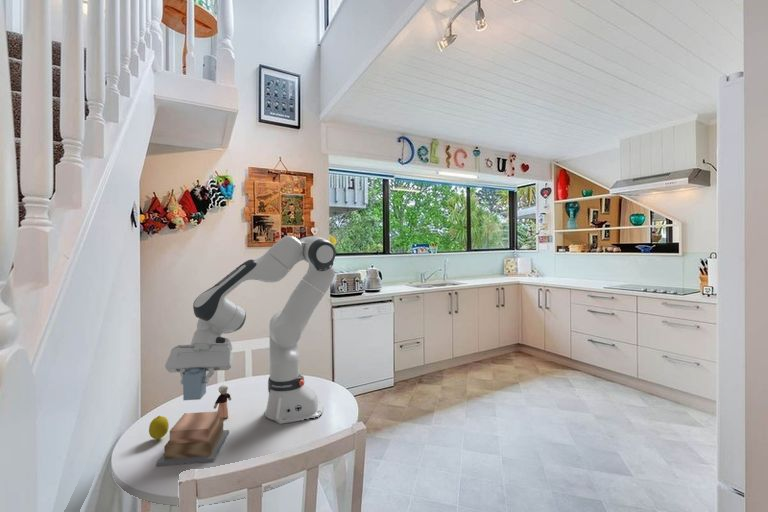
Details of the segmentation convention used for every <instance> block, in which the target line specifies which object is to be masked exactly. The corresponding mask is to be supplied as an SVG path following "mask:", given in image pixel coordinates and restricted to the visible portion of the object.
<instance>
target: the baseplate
mask: <svg viewBox="0 0 768 512" xmlns="http://www.w3.org/2000/svg"><path fill="white" fill-rule="evenodd" d="M229 434H230V430H229V429H223V434H222V436H221V438H220V440H219V441H218V443H217V445H216V447H215V449H214V450H213V452H212V454H211V456H200V457H187V458H174V459H164V453H162V455H161V457H160V458H159V459H158V460H157V462H156V467H163V466H164V467H165V466H174V465H175V466H177V465H185V464H184V463H190V464H200V463H214V462H215V461H216V459H217V457H218V455H219V454H220V451H221V449H222V447H223V446H224V443H225V441H226V440H227V438H228V436H229Z"/></svg>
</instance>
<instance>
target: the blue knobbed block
mask: <svg viewBox="0 0 768 512" xmlns="http://www.w3.org/2000/svg"><path fill="white" fill-rule="evenodd" d="M206 375H207V371H206V369H199V368H194V369H191V370H189V371H188V372H186V373H185V374H184V375H183V385H182V387H183V389H182V392H183V396H182V397H183V401H197V400H201V399H202V398H203V397H204V396H205V394H207V383H202V379H203V376H206Z"/></svg>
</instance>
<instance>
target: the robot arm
mask: <svg viewBox="0 0 768 512" xmlns="http://www.w3.org/2000/svg"><path fill="white" fill-rule="evenodd" d="M336 253H337V252H336V247H335V246H334V244H333V243H332V242H331V241H330V240H328V239H326V238H323V237H321V236H314V235H304V236H302V237H299V238H297V237H296V236H293V235H285V236H283V237H282V238H280V239H279V240H277V241H276V242H275V243H274V244H273V245H272V246H271V247H270V248H269V249H268V250H267V251H266V252H265V253H264V254H263V255H261V256H260V257H258V258H255V259H247V260H245V261H244V262H242V263H241V264H239V265H238V266H237V267H235V269H233V270H232V271H231V272H229V273H228V274H227V275H225V276H224V277H223V278H222V279H221V280H219V281H218V282H217V283H215V284H214V285H213V286H212V287H209V288H208V289H207V290H205V291H204V292H201V294H199V295H198V296H197V297H196V298H195V299H194V301H193V305H192V309H193V315H195V318H198V320H197V323H196V330H195V331H194V333H193V336H192V339H191V342H190V344H179V345H177V346H174V347H172V348H171V350H170V353H169V356H168V358H167V360H166V362H165V364H164V368H165V370H166V371H167V372H168V373H180V374H179V375H180V378H181V380H180V384H181V385H182V386H183V375H184V374H185V373H186V372H188V371H189V370H191V369H194V368H199V369H206V372H207V373H206V376H203V379H202V383H206V384H208V383H209V382H210V379H211V378H212V377H213V375H214V374H215V371H229V370H231V369H232V367H233V362H234V360H233V359H234V354H233V344H232V342H231V340H230V339H229V338H227V337H223V336H222V335H223V334H225V335H227V334H231V333H234V332H238V331H239V330H241V329H242V328H243V326H244V324H245V322H246V319H247V312H246V310H245V309H244V308H243V307H241V306H239V305H238V304H237V303H234V302H233V301H231V299H228V298H227V296H228V295H229V294H230V293H231V292H233V290H235V289H236V288H237V287H239V286H240V285H241V284H242V283H243V282H244V283H245V282H246V281H250V280H251V281H259V282H264V283H269V284H270V283H271V284H272V283H277V282H280V281H282V279H284V278H285V277H286V276H287V275H288V274H289V272H290V271H292V269H293V268H294V267H295V265H296V264H298V263H299V262H301V261H305V262H306V263H308V269H307V271H306V273H305V275H303V277H302V278H301V280H300V281H299V282H298V284H297V285H296V287H295V289H294V290H293V291H292V292H291V294H290V295H289V298H288V300H287V301H286V303H285V306H283V307H284V308H283V309H282V310H281V311H278V312H276V313H274V314H273V315H272V316H271V318H270V320H269V326H268V327H269V377H268V380H267V391H268V399H267V402H266V403H267V405H266V409H265V411H264V415H265V417H266V418H267V419H269V420H271V421H275V422H276V423H277V424H281V425H282V424H288V423H293V422H300V420H301V421H305V420H304V419H307V420H310V419H309V418H314V419H316V418H315V417H318V418H320V417H321V416H322V415H321V413H322V411H323V412H324V403H323V402H322V401H321V400H320V399H318V395H317V393H316V391H315V389H314V388H311V387H310V386H308V385H307V384H306V383H305V377H304V374H302V375H301V374H300V363H299V362H300V353H299V341H300V339H301V336H302V334H303V332H304V330H305V328H306V327H307V325H308V323H309V321H310V319H311V317H312V315H313V313H314V312H315V309H316V308H317V307H318V306H319V305H318V304H319V303H320V302H321V300H322V299H323V298H324V296H325V295H326V294H327V292H328V290H329V288H330V287H331V284H332V282H333V280H334V278H335V275H336V271H335V268H334V267H333V266H334V261H335V258H336ZM318 402H322V403H318ZM319 412H320V413H319ZM322 414H323V413H322ZM320 415H321V416H320ZM319 416H320V417H319Z"/></svg>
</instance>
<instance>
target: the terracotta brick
mask: <svg viewBox="0 0 768 512" xmlns="http://www.w3.org/2000/svg"><path fill="white" fill-rule="evenodd" d="M223 430H224V420H223V421H219V411H218V410H216V411H203V412H200V411H199V412H187V413H183V414H182V416H181V417H180V418H179V419H178V420H177V422H176V423H175V424H174V425H173V426H172V428H171V429H170V430H169V440H168V441H167V443H166V444H165V445H164V446H163V447H164V450H163V451H164V453H163V454H164V459H174V458H187V457H200V456H211V454H212V452H213V450H214V449H215V447H216V445H217V443H218V441H219V440H220V438H221V436H222V434H223Z"/></svg>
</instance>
